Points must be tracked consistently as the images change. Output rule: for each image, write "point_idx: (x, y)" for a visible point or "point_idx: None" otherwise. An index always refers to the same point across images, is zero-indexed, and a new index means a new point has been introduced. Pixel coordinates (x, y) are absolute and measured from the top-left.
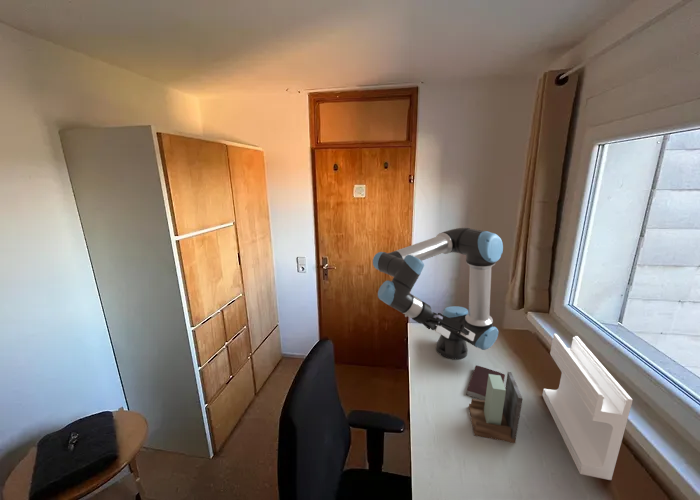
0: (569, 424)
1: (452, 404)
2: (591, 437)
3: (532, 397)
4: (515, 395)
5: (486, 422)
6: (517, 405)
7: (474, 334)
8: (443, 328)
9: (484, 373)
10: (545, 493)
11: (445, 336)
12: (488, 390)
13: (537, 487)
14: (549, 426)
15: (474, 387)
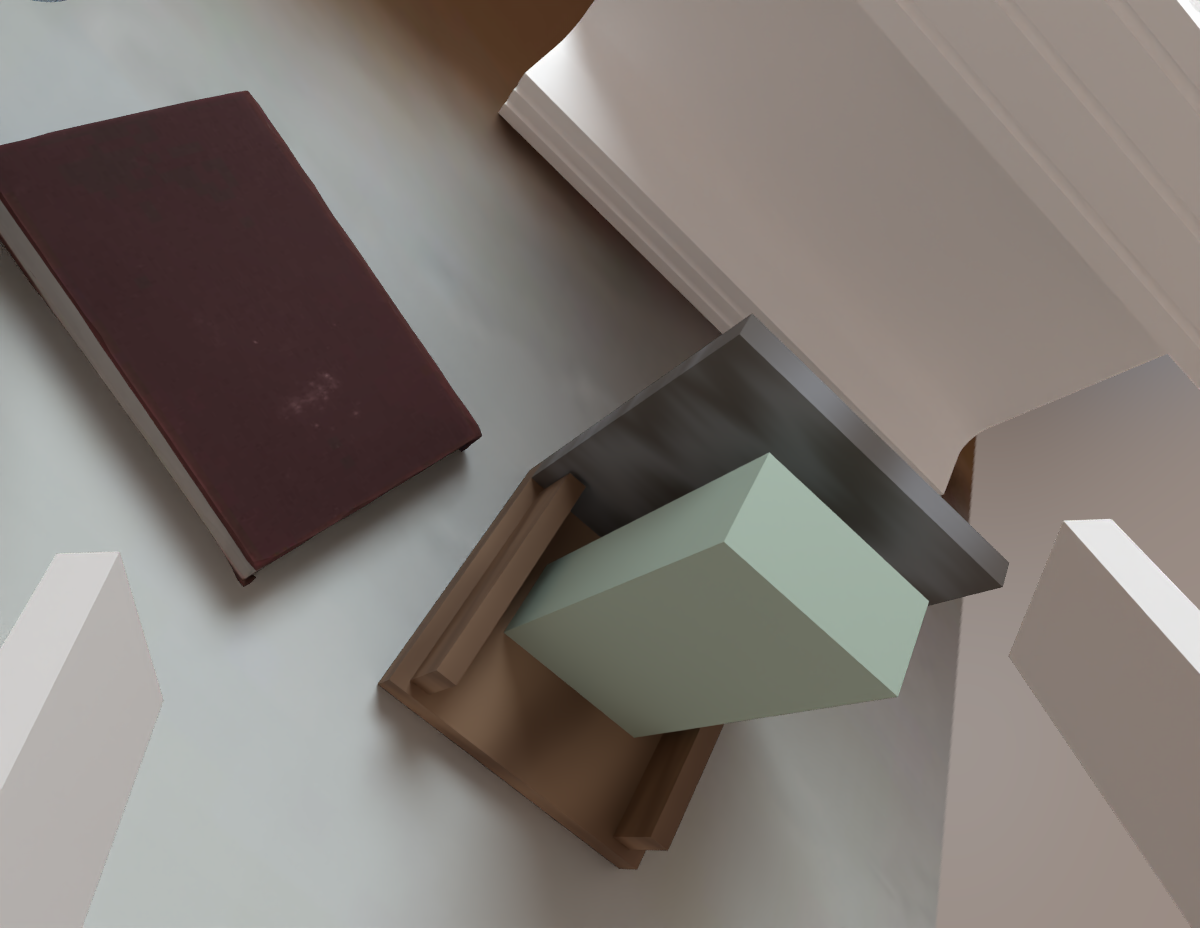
0: (775, 284)
1: (287, 814)
2: (919, 328)
3: (486, 175)
4: (921, 546)
5: (600, 708)
6: (941, 600)
7: (1117, 549)
8: (5, 808)
9: (149, 217)
10: (946, 757)
11: (130, 790)
12: (695, 625)
13: (923, 767)
14: (687, 344)
15: (266, 478)
